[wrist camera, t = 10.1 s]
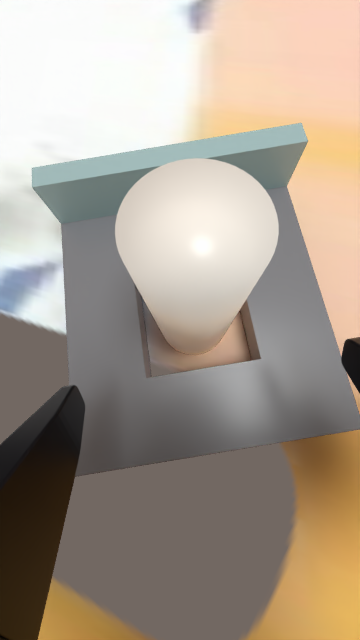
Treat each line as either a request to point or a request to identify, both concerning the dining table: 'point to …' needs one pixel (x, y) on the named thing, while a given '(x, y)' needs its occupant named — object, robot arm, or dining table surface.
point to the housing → (130, 335)
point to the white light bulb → (196, 246)
